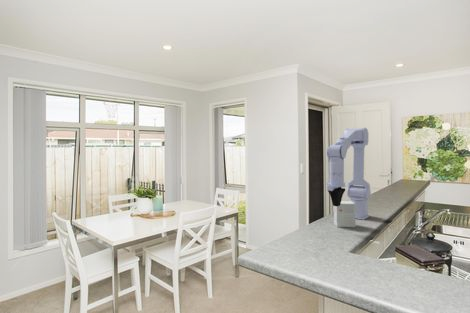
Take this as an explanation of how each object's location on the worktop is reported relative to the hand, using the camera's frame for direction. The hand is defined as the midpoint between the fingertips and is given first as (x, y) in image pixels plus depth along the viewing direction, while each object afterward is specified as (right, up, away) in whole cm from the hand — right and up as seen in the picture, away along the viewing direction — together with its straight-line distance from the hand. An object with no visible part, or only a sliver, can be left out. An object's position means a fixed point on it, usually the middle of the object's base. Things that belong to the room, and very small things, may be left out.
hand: (336, 205), depth 121 cm
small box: (+6, -10, +7) cm, 14 cm away
